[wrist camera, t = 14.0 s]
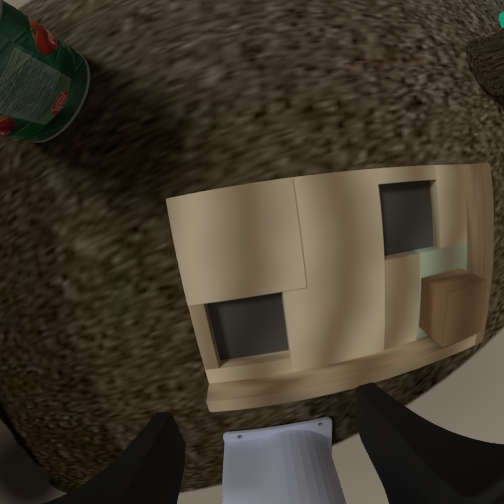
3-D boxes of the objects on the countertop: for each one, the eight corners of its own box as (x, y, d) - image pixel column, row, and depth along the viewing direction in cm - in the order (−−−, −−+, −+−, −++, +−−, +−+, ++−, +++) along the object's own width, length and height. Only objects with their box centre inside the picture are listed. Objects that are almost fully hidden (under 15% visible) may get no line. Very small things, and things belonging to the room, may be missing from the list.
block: (418, 326, 19) (442, 347, 16) (421, 277, 19) (448, 293, 15) (456, 314, 19) (481, 331, 16) (459, 267, 19) (487, 280, 15)
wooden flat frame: (213, 383, 21) (209, 411, 18) (171, 197, 18) (156, 199, 15) (460, 325, 21) (482, 341, 18) (462, 164, 18) (489, 163, 15)
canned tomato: (100, 42, 15) (22, -29, 5) (81, 138, 17) (-33, 111, 6) (27, 62, 15) (-55, 25, 4) (10, 147, 17) (-89, 141, 6)
